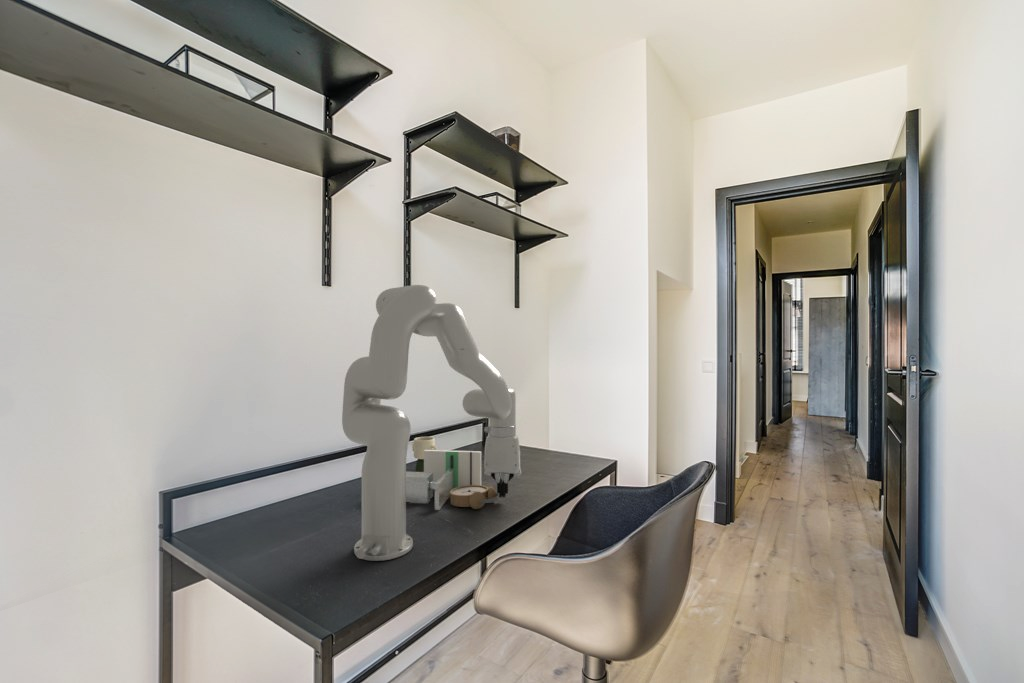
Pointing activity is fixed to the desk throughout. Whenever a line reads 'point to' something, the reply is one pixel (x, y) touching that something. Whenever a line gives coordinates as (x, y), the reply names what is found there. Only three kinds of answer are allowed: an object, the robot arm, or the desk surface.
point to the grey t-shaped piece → (443, 485)
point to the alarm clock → (472, 496)
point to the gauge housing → (418, 487)
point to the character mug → (422, 450)
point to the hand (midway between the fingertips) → (502, 495)
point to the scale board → (464, 465)
